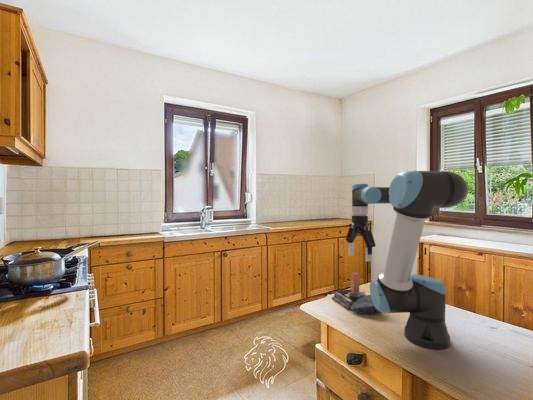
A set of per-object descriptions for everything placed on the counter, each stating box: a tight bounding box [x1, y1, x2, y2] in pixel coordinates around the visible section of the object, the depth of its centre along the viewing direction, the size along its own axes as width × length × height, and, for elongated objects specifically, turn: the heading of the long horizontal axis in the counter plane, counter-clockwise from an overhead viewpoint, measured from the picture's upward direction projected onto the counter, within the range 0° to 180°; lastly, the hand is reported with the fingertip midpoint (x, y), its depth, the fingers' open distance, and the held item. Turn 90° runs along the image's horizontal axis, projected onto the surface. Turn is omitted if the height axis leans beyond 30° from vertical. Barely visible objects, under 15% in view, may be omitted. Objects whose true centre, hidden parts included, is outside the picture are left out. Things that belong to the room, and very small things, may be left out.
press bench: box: [331, 288, 368, 311], centre depth 142 cm, size 14×16×4 cm
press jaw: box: [345, 271, 366, 303], centre depth 140 cm, size 4×9×14 cm, turn 107°
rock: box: [351, 294, 379, 316], centre depth 130 cm, size 16×8×10 cm
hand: (359, 258), depth 139 cm, fingers open, 13 cm apart
